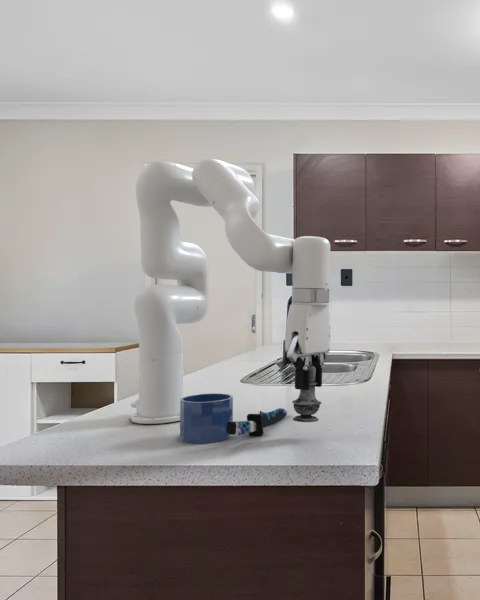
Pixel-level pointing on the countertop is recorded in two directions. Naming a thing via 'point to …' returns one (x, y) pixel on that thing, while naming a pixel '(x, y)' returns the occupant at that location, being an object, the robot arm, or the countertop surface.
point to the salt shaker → (307, 401)
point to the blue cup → (205, 417)
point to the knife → (255, 423)
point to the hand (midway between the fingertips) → (308, 386)
